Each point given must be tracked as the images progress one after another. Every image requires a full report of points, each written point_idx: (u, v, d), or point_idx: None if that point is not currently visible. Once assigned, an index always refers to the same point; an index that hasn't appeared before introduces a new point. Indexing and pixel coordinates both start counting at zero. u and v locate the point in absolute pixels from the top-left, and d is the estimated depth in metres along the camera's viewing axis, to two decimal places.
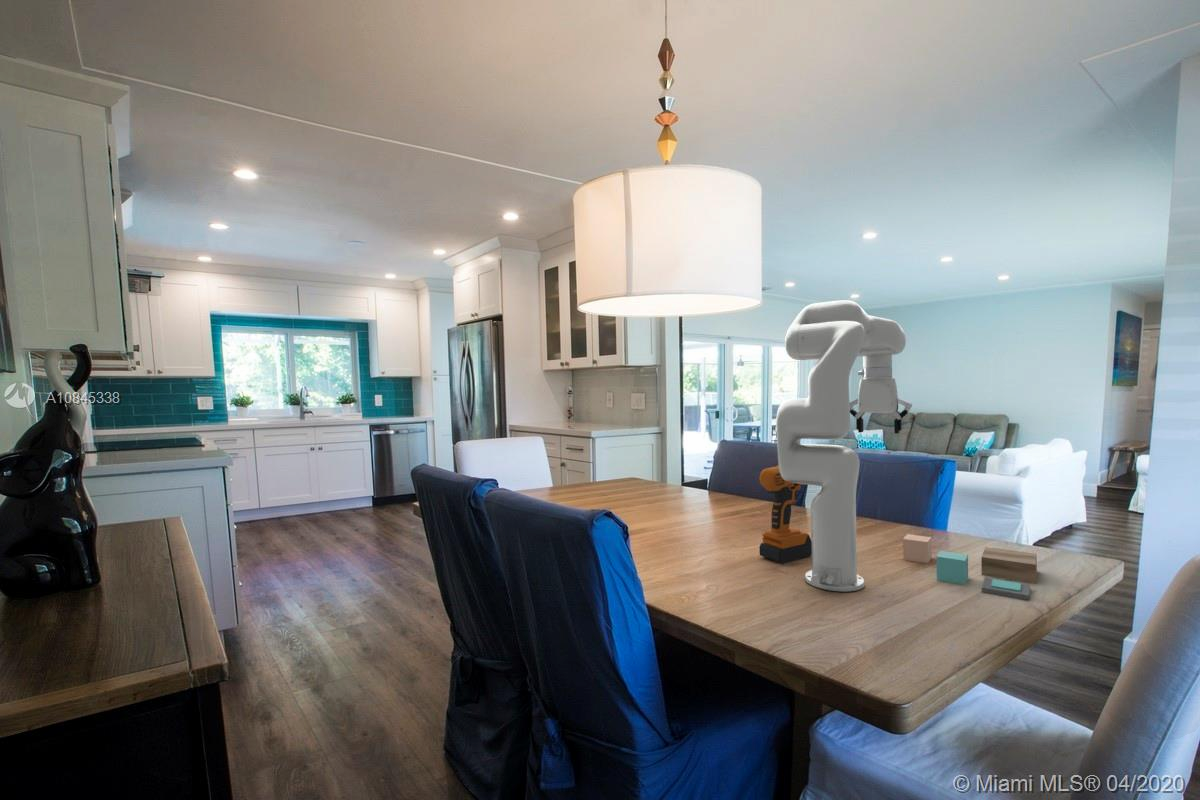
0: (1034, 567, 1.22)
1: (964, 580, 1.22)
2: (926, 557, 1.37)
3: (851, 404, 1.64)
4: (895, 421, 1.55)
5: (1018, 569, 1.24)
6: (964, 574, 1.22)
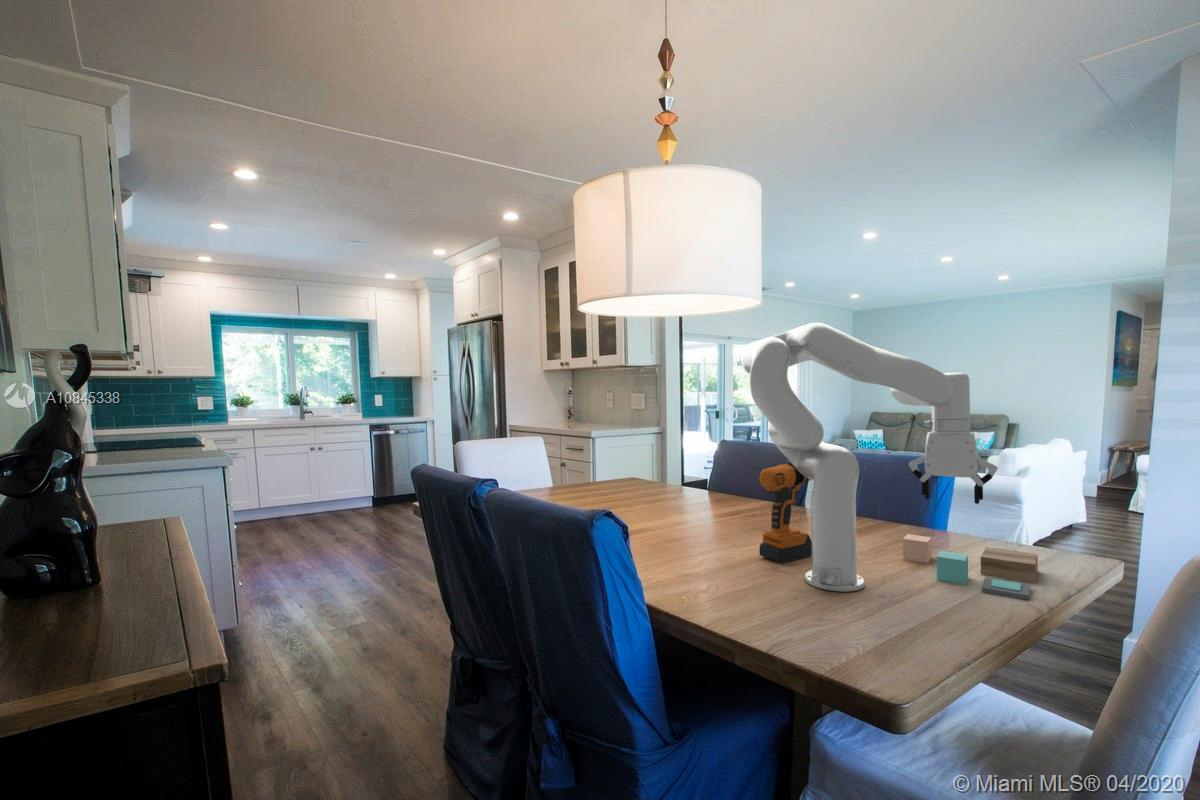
0: (1033, 567, 1.22)
1: (964, 580, 1.22)
2: (926, 557, 1.37)
3: (915, 463, 1.30)
4: (975, 488, 1.22)
5: (1017, 569, 1.24)
6: (964, 574, 1.22)
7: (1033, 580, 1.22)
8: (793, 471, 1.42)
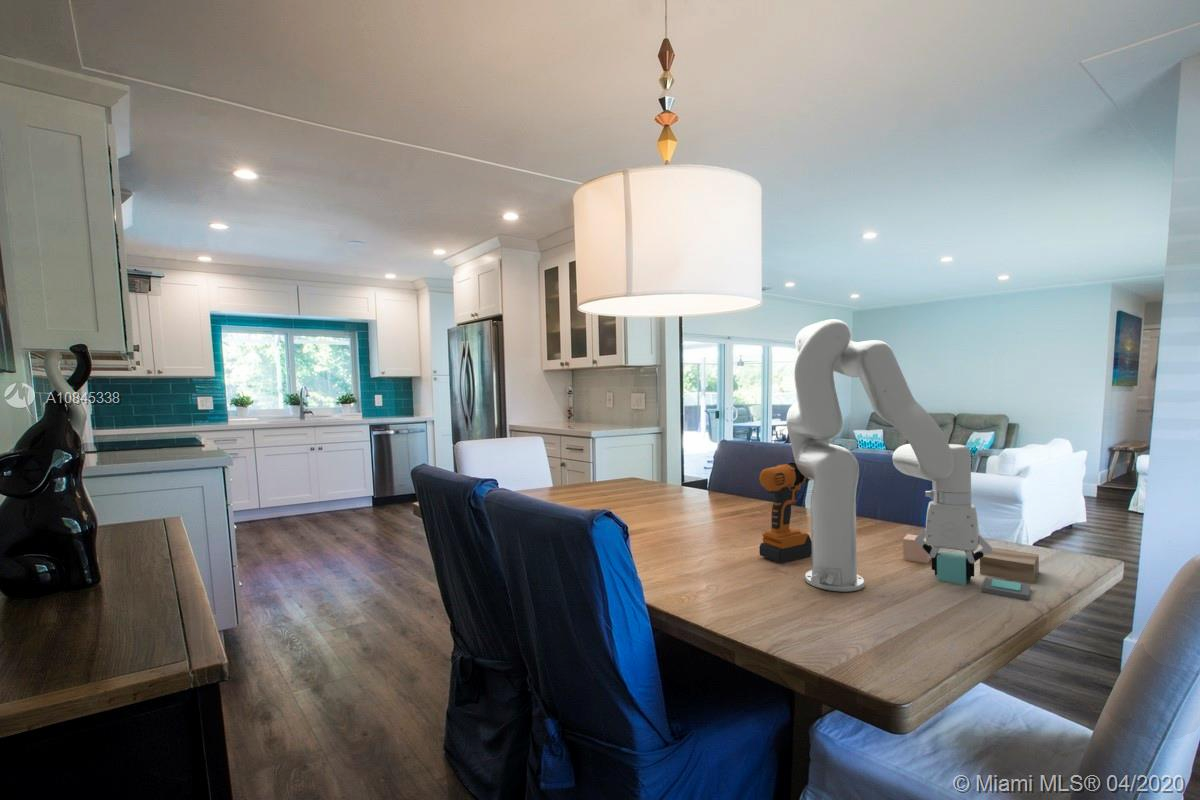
0: (1032, 567, 1.22)
1: (964, 580, 1.22)
2: (926, 557, 1.37)
3: (921, 537, 1.29)
4: (967, 565, 1.23)
5: (1016, 569, 1.24)
6: (964, 574, 1.22)
7: (1032, 580, 1.22)
8: (793, 471, 1.42)
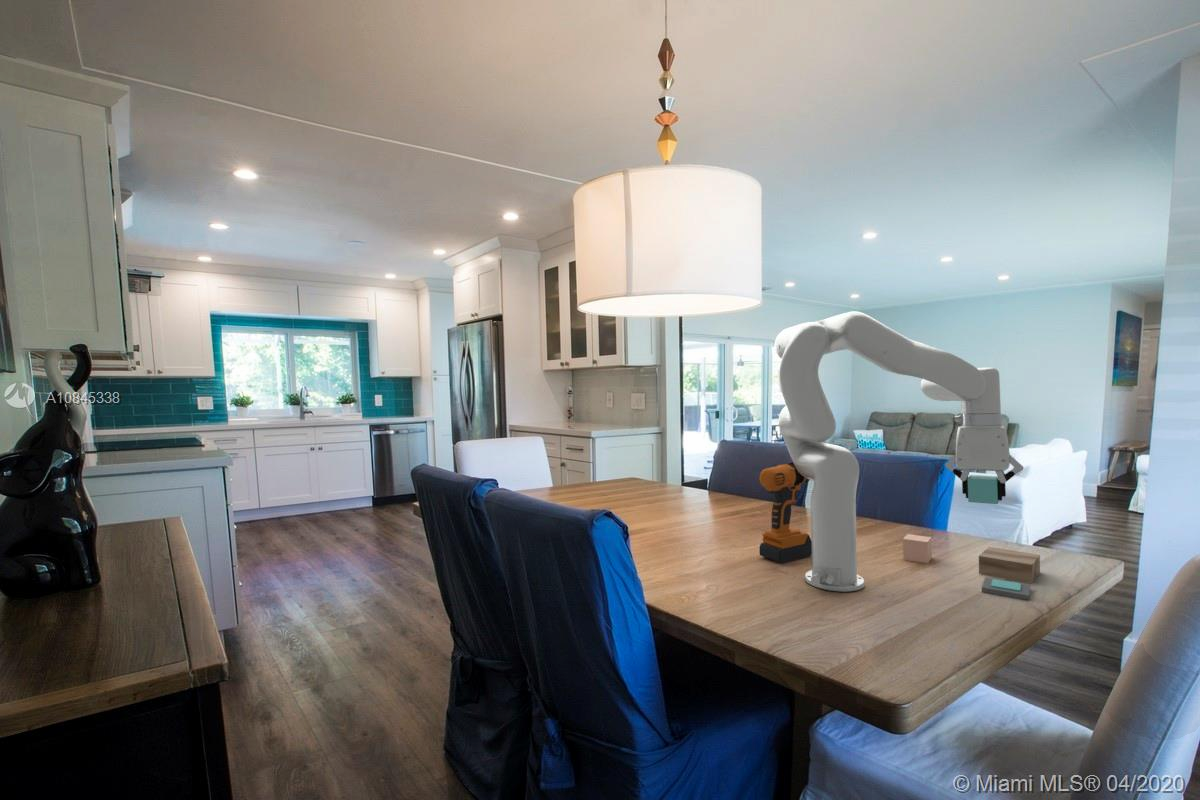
0: (1030, 567, 1.22)
1: (996, 499, 1.24)
2: (926, 557, 1.37)
3: (951, 462, 1.31)
4: (998, 485, 1.24)
5: (1015, 569, 1.24)
6: (996, 493, 1.24)
7: (1030, 580, 1.22)
8: (793, 471, 1.42)
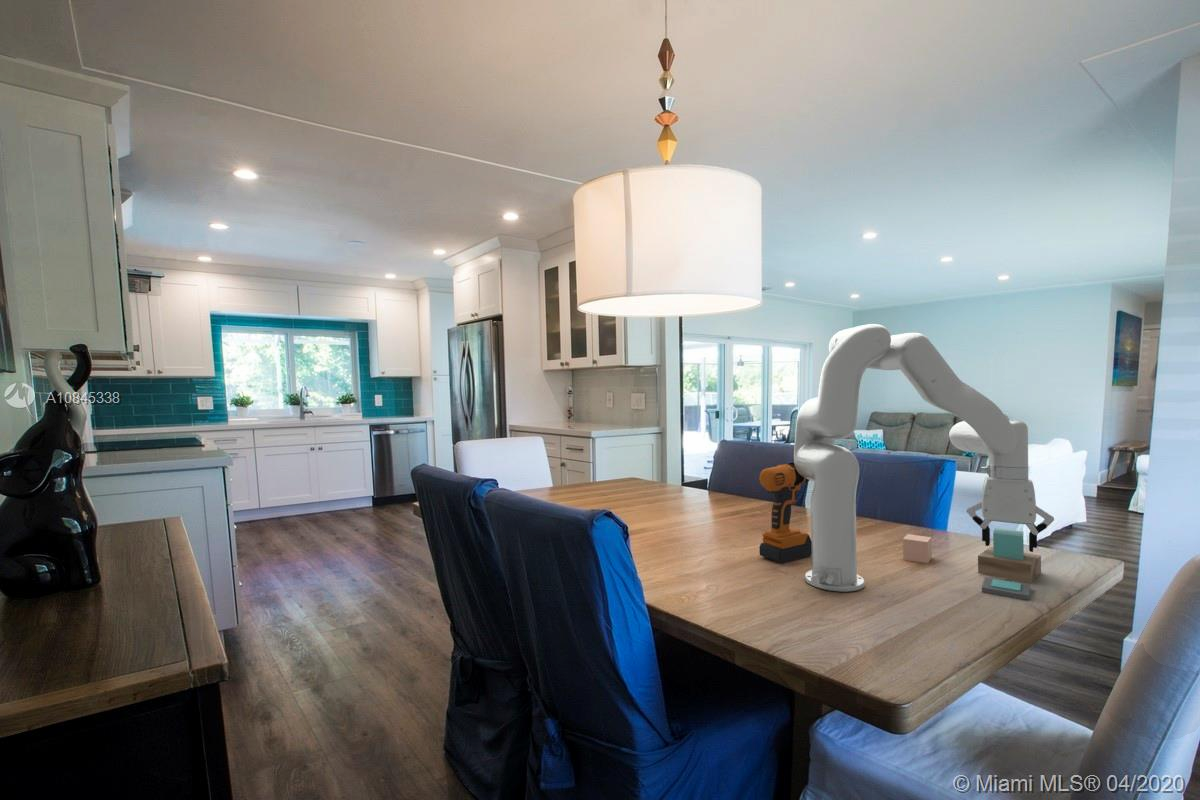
0: (1029, 567, 1.22)
1: (1021, 555, 1.25)
2: (926, 557, 1.37)
3: (973, 509, 1.33)
4: (1030, 537, 1.25)
5: (1013, 569, 1.24)
6: (1021, 550, 1.25)
7: (1029, 580, 1.22)
8: (793, 471, 1.42)
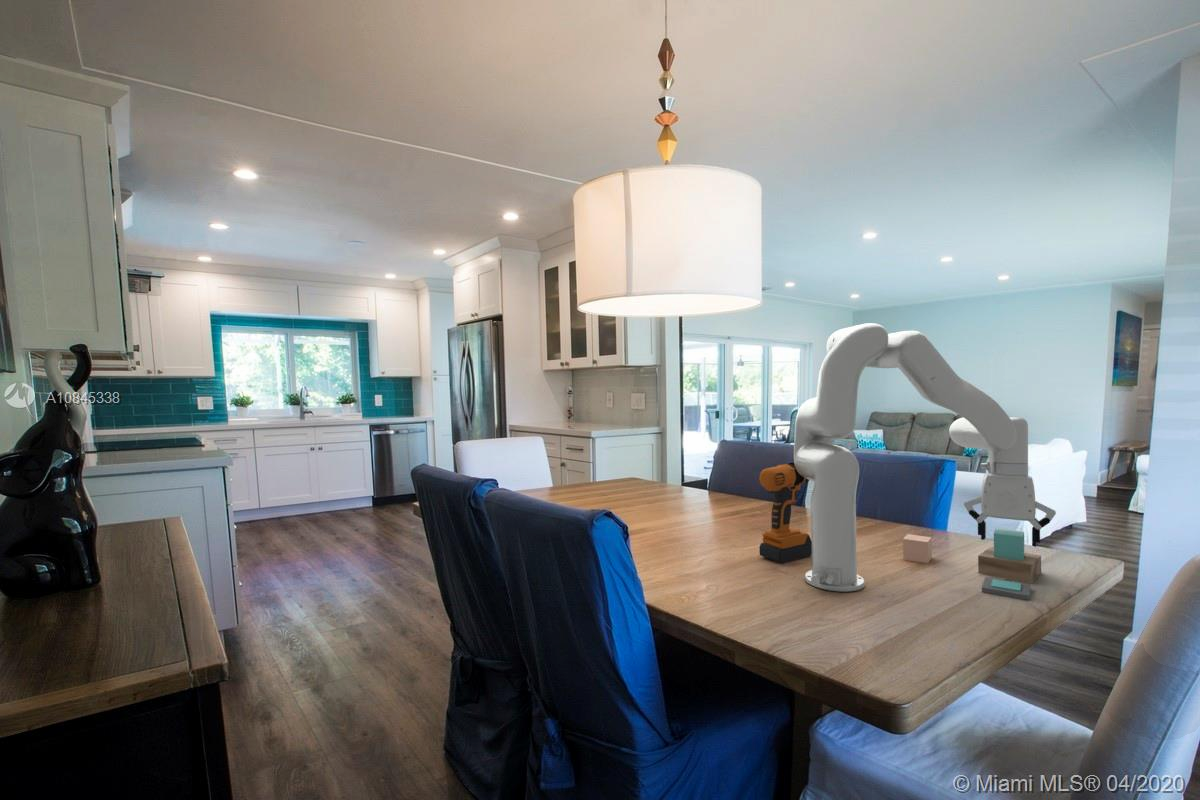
0: (1029, 567, 1.22)
1: (1022, 556, 1.25)
2: (926, 557, 1.37)
3: (971, 503, 1.33)
4: (1033, 531, 1.25)
5: (1014, 569, 1.24)
6: (1022, 550, 1.25)
7: (1029, 580, 1.22)
8: (793, 471, 1.42)
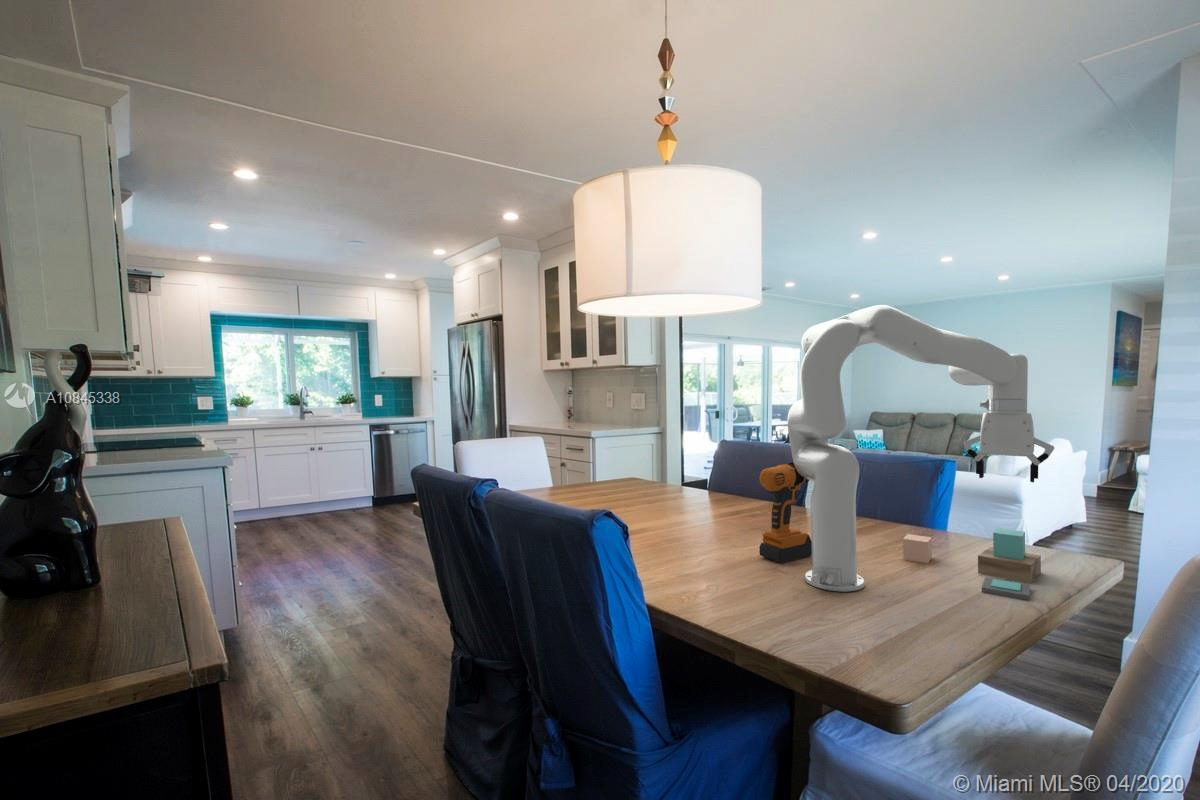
0: (1029, 567, 1.22)
1: (1021, 555, 1.25)
2: (926, 557, 1.37)
3: (969, 442, 1.33)
4: (1032, 467, 1.24)
5: (1013, 569, 1.24)
6: (1021, 549, 1.25)
7: (1029, 580, 1.22)
8: (793, 471, 1.42)
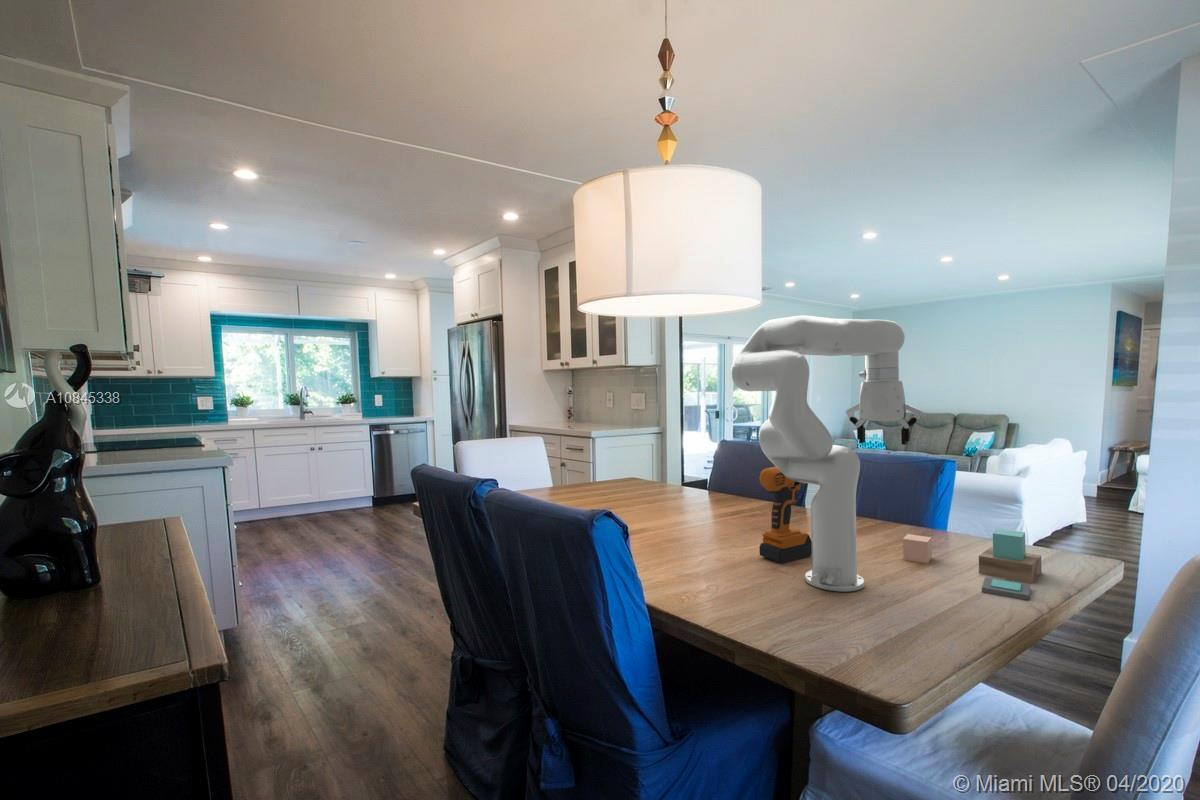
0: (1030, 567, 1.22)
1: (1021, 556, 1.25)
2: (926, 557, 1.37)
3: (851, 410, 1.42)
4: (902, 430, 1.34)
5: (1014, 569, 1.24)
6: (1021, 550, 1.25)
7: (1030, 580, 1.22)
8: None
